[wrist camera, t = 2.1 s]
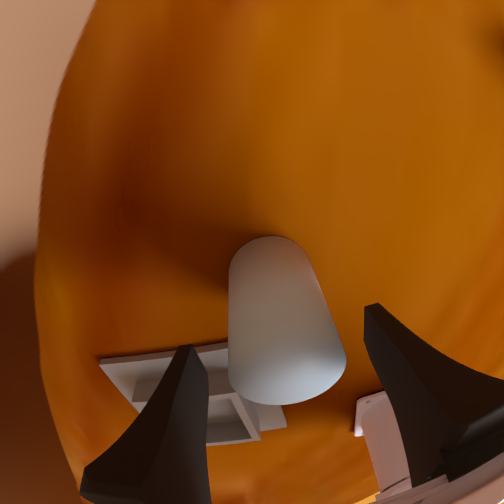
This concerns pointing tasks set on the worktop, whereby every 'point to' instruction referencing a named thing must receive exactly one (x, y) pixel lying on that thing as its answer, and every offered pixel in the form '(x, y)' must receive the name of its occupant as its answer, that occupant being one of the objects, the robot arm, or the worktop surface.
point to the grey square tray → (220, 393)
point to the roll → (279, 325)
